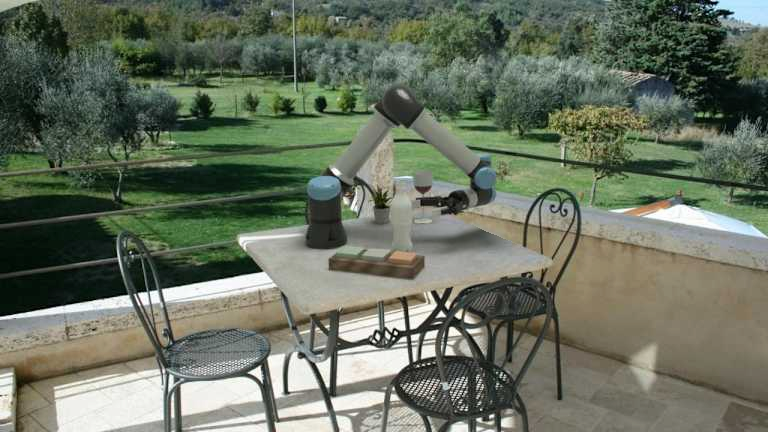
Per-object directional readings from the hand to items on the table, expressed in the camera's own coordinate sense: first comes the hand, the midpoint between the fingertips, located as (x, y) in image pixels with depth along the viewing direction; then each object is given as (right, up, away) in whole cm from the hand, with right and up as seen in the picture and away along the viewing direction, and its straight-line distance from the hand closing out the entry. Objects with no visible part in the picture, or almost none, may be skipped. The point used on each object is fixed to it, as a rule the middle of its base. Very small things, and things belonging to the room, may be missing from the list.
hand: (419, 210), depth 211 cm
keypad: (-14, -19, -14) cm, 27 cm away
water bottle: (-6, -15, -1) cm, 16 cm away
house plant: (-14, -5, +38) cm, 41 cm away
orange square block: (-6, -17, -18) cm, 25 cm away
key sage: (-23, -16, -12) cm, 30 cm away
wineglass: (+4, -4, +38) cm, 38 cm away
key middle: (-14, -16, -15) cm, 26 cm away
